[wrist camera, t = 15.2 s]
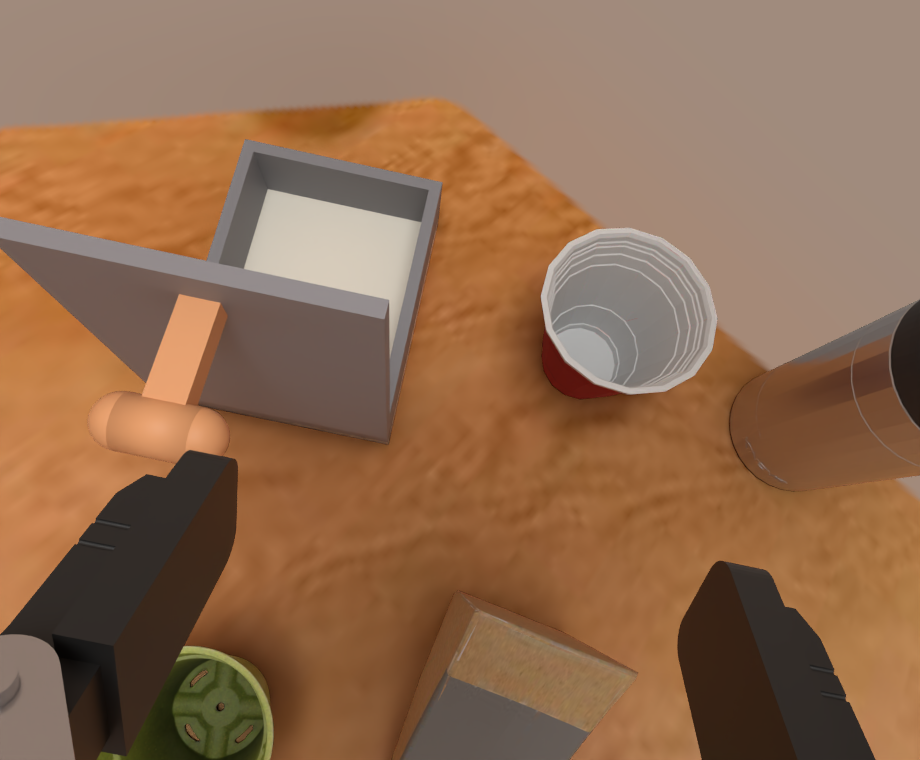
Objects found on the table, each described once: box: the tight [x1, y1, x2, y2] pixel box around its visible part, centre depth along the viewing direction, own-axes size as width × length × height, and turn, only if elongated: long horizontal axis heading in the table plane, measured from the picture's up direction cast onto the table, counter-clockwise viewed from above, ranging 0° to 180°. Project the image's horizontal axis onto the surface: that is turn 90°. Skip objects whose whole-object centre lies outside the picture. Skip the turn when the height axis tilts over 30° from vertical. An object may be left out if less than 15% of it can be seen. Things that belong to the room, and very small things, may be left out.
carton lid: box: [0, 217, 390, 463], centre depth 31 cm, size 18×14×7 cm
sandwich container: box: [392, 590, 638, 760], centre depth 37 cm, size 9×15×15 cm, turn 159°
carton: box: [198, 139, 442, 444], centre depth 47 cm, size 18×14×6 cm
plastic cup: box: [541, 228, 718, 399], centre depth 45 cm, size 11×11×12 cm
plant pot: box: [97, 646, 274, 760], centre depth 39 cm, size 9×9×9 cm
